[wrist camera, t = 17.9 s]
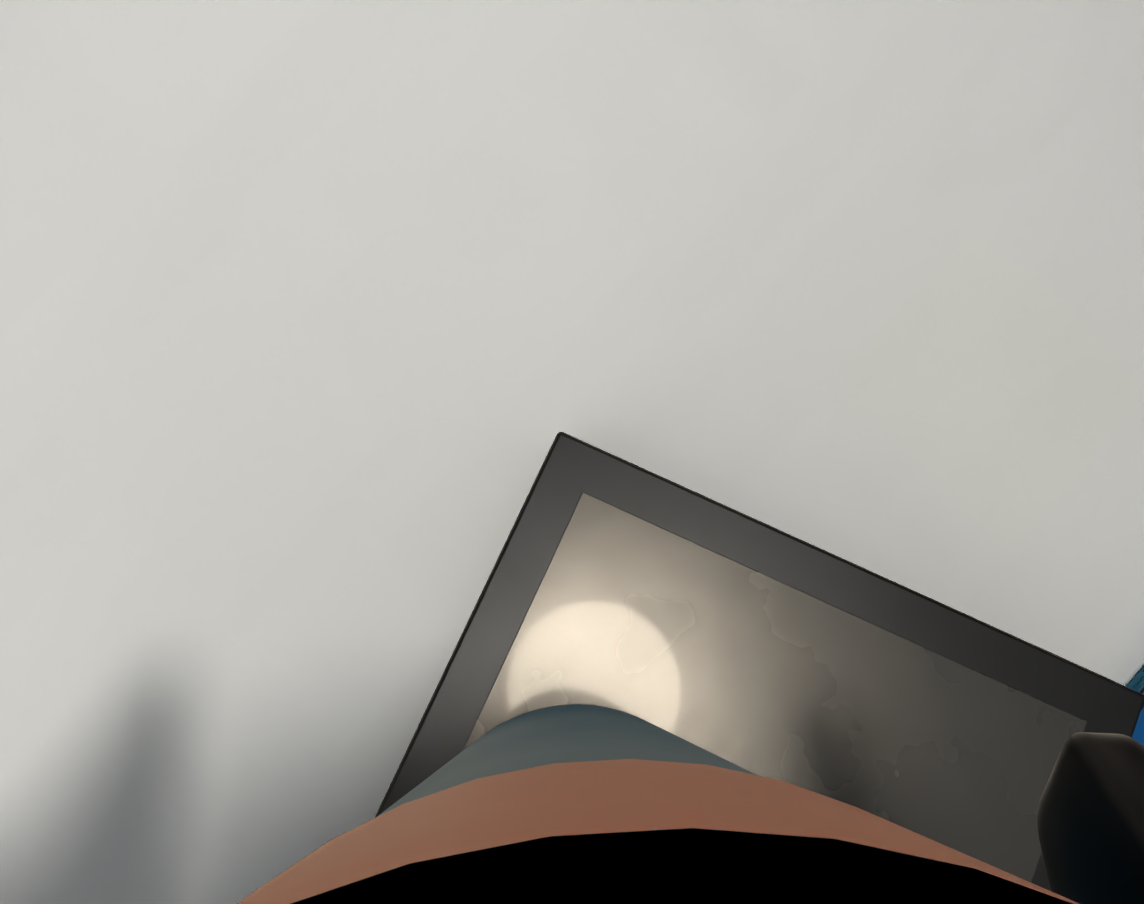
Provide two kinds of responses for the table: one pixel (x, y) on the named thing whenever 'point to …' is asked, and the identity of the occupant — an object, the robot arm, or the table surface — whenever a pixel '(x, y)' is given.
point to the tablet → (762, 661)
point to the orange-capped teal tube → (627, 832)
